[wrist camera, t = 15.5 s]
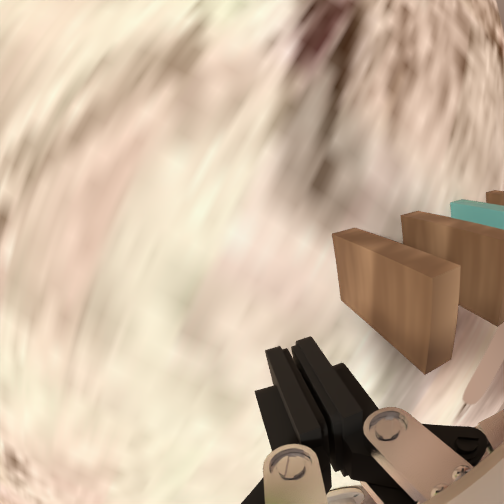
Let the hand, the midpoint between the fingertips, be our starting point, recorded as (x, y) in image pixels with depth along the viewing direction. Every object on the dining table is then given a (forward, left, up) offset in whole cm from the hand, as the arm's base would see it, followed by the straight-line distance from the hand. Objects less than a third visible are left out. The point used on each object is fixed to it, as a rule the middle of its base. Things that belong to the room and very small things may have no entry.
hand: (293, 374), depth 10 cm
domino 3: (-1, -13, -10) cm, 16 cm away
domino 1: (-1, -7, -10) cm, 12 cm away
